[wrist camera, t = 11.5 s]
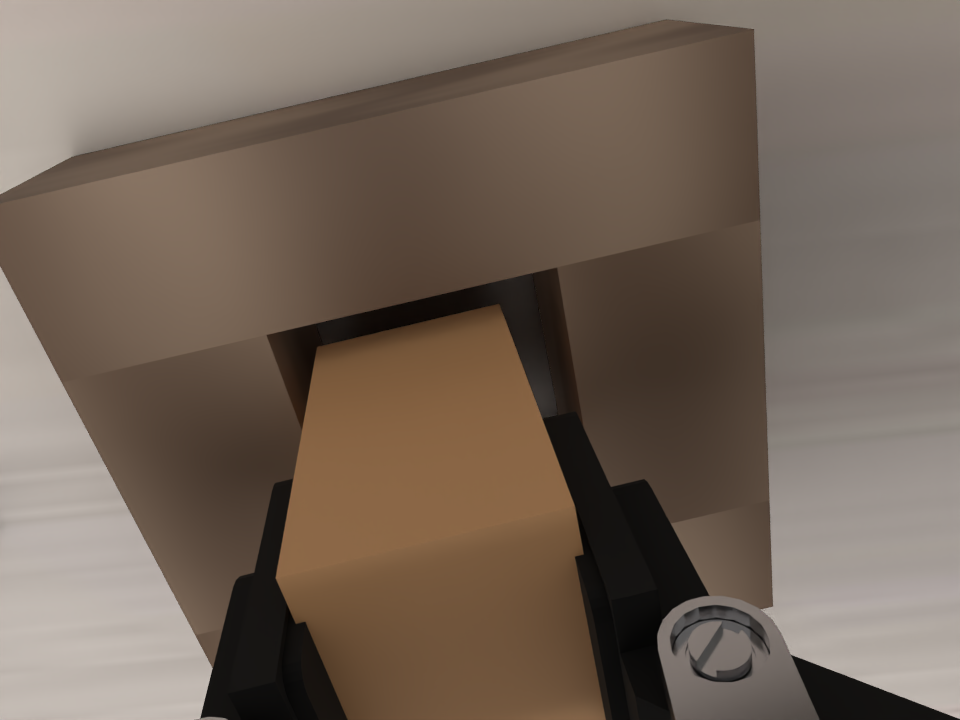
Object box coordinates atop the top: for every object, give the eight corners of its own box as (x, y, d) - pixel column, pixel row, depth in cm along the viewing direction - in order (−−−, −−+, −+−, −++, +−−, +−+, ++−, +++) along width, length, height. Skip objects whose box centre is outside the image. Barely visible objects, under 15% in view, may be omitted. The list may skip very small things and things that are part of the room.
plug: (499, 303, 14) (574, 506, 8) (538, 493, 16) (620, 754, 10) (317, 346, 14) (275, 578, 8) (380, 531, 16) (380, 813, 10)
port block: (666, 19, 15) (753, 29, 11) (705, 498, 20) (773, 606, 17) (71, 156, 15) (-29, 210, 11) (270, 599, 20) (245, 730, 17)
